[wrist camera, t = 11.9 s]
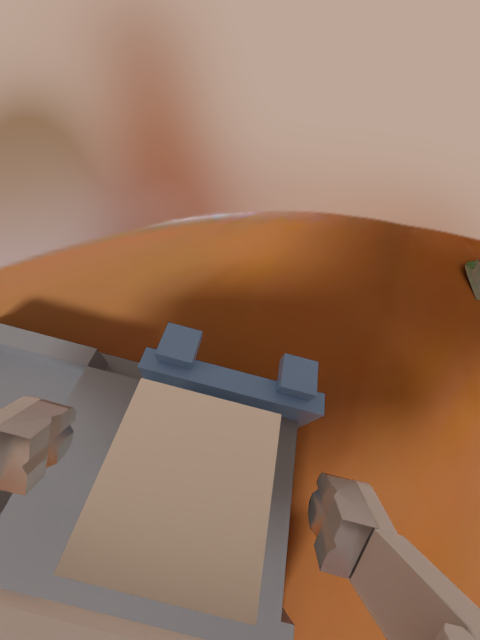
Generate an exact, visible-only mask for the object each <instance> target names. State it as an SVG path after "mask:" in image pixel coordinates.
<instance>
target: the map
mask: <svg viewBox="0 0 480 640" xmlns="http://www.w3.org/2000/svg"><path fill="white" fill-rule="evenodd" d="M465 265H466V266H465V270H466V273H467V276H468V279H469V282H470V284H471V287H472V290H473V292H474V295H475V297H476V300H478V299H479V300H480V258H479V259H477V261H471V262H469V261H468V262H467V264H465Z"/></svg>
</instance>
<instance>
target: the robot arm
mask: <svg viewBox="0 0 480 640" xmlns="http://www.w3.org/2000/svg"><path fill="white" fill-rule="evenodd" d="M75 419H76V410H75V409H74V408H73V407H69V406H66V405H62V404H59V403H55V402H52V401H48V400H45V399H44V400H43V399H40V398H37V397H33V396H23V397H21V398H19V399H17V400H16V401H14V402H12V403H10V404H8V405H7V406H5V407H3V408H1V409H0V490H3V491H7V492H12V493H16V494H21V495H26V494H27V493H28V492H29V491H30V490H31V489H32V488H33V487H34V486H35V485H36V484H37V483H38V482H39V481H40V480H41V479H42V478H43V477H44V476H45V472H46V468H48V467H50V466H52V465H55V464H57V463H58V462H59V461H60V460H61V459H62V458H63V457H64V455H65V454H66V452H67V450H68V449H69V447H70V445H71V442H72V440H73V434H74V431H73V429H72V427H71V426H70V424H71V423H72V422H73V421H75ZM317 485H318V490H317V491H315V492H314V493H312V496H311V498H310V501H309V509H308V517H309V524H310V529H311V530H312V531H313V533H314V534H315V535H316V537H317V538H316V541H315V543H314V546H315V551H316V555H317V560H318V564H319V568H320V571H323V572H326V573H330V574H333V575H337V576H340V577H343V578H347V579H350V583H351V584H352V586H353V587H354V589H355V590H356V592H357V594H358V595H359V597H360V598H361V600H362V601H363V603H364V604H365V606H366V608H367V609H368V611H369V612H370V614H371V615H372V617H373V619H374V620H375V622H376V623H377V625H378V626H379V628H380V630H381V631H382V633H383V634H384V636H385V637H386V639H387V640H480V609H479V608H478V607H477V606H476V605H475V604H474V603H473V602H472V601H471V600H470V599H469V598H468V597H467V596H466V595H465V594H464V593H463V592H462V591H461V590H459V589H458V588H457V587H456V586H455V585H454V584H453V583H452V582H451V581H450V580H449V579H448V578H447V577H446V576H445V575H444V574H443V573H442V572H441V571H440V570H439V569H437V568H436V567H435V566H434V565H433V564H432V563H431V562H430V561H429V560H428V559H427V558H426V557H425V556H424V555H423V554H422V553H421V552H420V551H419V550H418V549H417V548H415V547H414V546H413V545H412V544H411V543H410V542H409V541H408V540H407V539H406V538H405V537H404V536H401V535H398V533H397V532H396V530H395V528H394V526H393V524H392V522H391V521H390V519H389V517H388V515H387V513H386V511H385V510H384V508H383V506H382V504H381V502H380V501H379V499H378V497H377V495H376V493H375V491H374V490H373V488H372V486H371V485H370V484H368V483H365V482H361V481H356V480H350V479H346V478H342V477H338V476H334V475H330V474H327V473H323V472H322V473H321V474H320V476H319V478H318V480H317ZM0 640H207V639H203V638H199V637H195V636H191V635H187V634H183V633H179V632H175V631H171V630H167V629H163V628H159V627H155V626H151V625H147V624H143V623H139V622H135V621H131V620H127V619H123V618H119V617H115V616H111V615H107V614H103V613H99V612H95V611H91V610H87V609H83V608H79V607H75V606H71V605H67V604H63V603H59V602H55V601H51V600H47V599H43V598H39V597H35V596H31V595H27V594H23V593H19V592H15V591H11V590H7V589H3V588H0Z"/></svg>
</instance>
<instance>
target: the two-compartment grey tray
mask: <svg viewBox="0 0 480 640" xmlns="http://www.w3.org/2000/svg"><path fill="white" fill-rule="evenodd" d="M201 341H202V331H200V330H196V329H192V328H189V327H185V326H181V325H177V324H173V323H170V322H168V325H167V327H166V329H165V331H164V334H163V336H162V338H161V340H160V343H159V345H158V347H157V349H153V348H149V347H146V349H145V351H144V354H143V356H142V358H141V360H140V362H135V361H131V360H128V359H124V358H120V357H116V356H112V355H108V354H105V353H101V352H99V350H98V349H97V348H93V347H89V346H85V345H81V344H77V343H74V342H70V341H66V340H62V339H58V338H55V337H51V336H47V335H43V334H39V333H35V332H32V331H28V330H24V329H20V328H16V327H13V326H9V325H5V324H1V323H0V409H1V408H3V407H5V406H7V405H8V404H10V403H12V402H14V401H16V400H17V399H19V398H21V397H23V396H33V397H37V398H40V399H43V400H44V399H45V400H48V401H52V402H55V403H59V404H62V405H66V406H69V407H73V408H74V409H75V410H76V419H75V421H73V422H72V423H71V424H70V426H71V427H72V429H73V431H74V434H73V440H72V442H71V445H70V447H69V449H68V450H67V452H66V454H65V455H64V457H63V458H62V459H61V460H60V461H59V462H58V463H57V464H55V465H52V466H50V467H48V468H46V472H45V476H44V477H43V478H42V479H41V480H40V481H39V482H38V483H37V484H36V485H35V486H34V487H33V488H32V489H31V490H30V491H29V492H28V493H27V494H26V495H21V494H16V493H12V492H7V491H3V490H0V588H3V589H7V590H11V591H15V592H19V593H23V594H27V595H31V596H35V597H39V598H43V599H47V600H51V601H55V602H59V603H63V604H67V605H71V606H75V607H79V608H83V609H87V610H91V611H95V612H99V613H103V614H107V615H111V616H115V617H119V618H123V619H127V620H131V621H135V622H139V623H143V624H147V625H151V626H155V627H159V628H163V629H167V630H171V631H175V632H179V633H183V634H187V635H191V636H195V637H199V638H203V639H207V640H293V639H294V624H293V622H292V621H291V619H290V618H289V616H288V615H287V613H286V612H285V610H284V609H283V607H282V604H283V592H284V580H285V569H286V557H287V545H288V533H289V522H290V510H291V498H292V486H293V474H294V463H295V451H296V439H297V428H300V427H302V426H304V425H306V424H308V423H310V422H312V421H314V420H316V419H319V418H321V417H323V416H324V409H325V394H324V393H320V392H317V382H318V362H317V361H313V360H310V359H306V358H302V357H298V356H295V355H291V354H287V353H284V355H283V356H282V358H281V359H280V363H279V371H278V378H277V381H275V380H271V379H267V378H263V377H259V376H256V375H252V374H248V373H244V372H240V371H236V370H233V369H229V368H225V367H221V366H217V365H214V364H210V363H206V362H202V361H198V360H195V359H196V356H197V353H198V350H199V347H200V344H201ZM141 378H144V379H148V380H152V381H155V382H159V383H163V384H167V385H171V386H175V387H178V388H182V389H186V390H190V391H194V392H198V393H201V394H205V395H209V396H213V397H217V398H221V399H224V400H228V401H232V402H236V403H240V404H243V405H247V406H251V407H255V408H259V409H263V410H266V411H270V412H274V413H278V414H281V423H280V431H279V439H278V448H277V456H276V464H275V472H274V481H273V489H272V497H271V506H270V514H269V522H268V530H267V539H266V547H265V555H264V564H263V572H262V580H261V588H260V597H259V605H258V613H257V622H256V626H255V625H251V624H247V623H243V622H239V621H235V620H231V619H227V618H223V617H219V616H215V615H211V614H207V613H203V612H200V611H196V610H192V609H188V608H184V607H180V606H176V605H172V604H168V603H164V602H160V601H156V600H152V599H148V598H144V597H140V596H136V595H132V594H128V593H124V592H120V591H116V590H112V589H108V588H104V587H100V586H96V585H92V584H88V583H84V582H80V581H76V580H72V579H68V578H64V577H60V576H56V575H53V574H54V572H55V569H56V567H57V565H58V563H59V561H60V558H61V556H62V554H63V552H64V549H65V547H66V545H67V543H68V540H69V538H70V536H71V534H72V531H73V529H74V527H75V525H76V522H77V520H78V518H79V516H80V514H81V511H82V509H83V507H84V505H85V502H86V500H87V498H88V496H89V493H90V491H91V489H92V487H93V484H94V482H95V480H96V478H97V475H98V473H99V471H100V469H101V466H102V464H103V462H104V460H105V458H106V455H107V453H108V451H109V449H110V446H111V444H112V442H113V440H114V437H115V435H116V433H117V431H118V428H119V426H120V424H121V422H122V419H123V417H124V415H125V413H126V411H127V408H128V406H129V404H130V402H131V399H132V397H133V395H134V393H135V390H136V388H137V386H138V384H139V381H140V379H141Z"/></svg>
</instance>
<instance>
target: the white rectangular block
mask: <svg viewBox="0 0 480 640" xmlns="http://www.w3.org/2000/svg"><path fill="white" fill-rule="evenodd" d="M280 423H281V414H278V413H274V412H270V411H266V410H263V409H259V408H255V407H251V406H247V405H243V404H240V403H236V402H232V401H228V400H224V399H221V398H217V397H213V396H209V395H205V394H201V393H198V392H194V391H190V390H186V389H182V388H178V387H175V386H171V385H167V384H163V383H159V382H155V381H152V380H148V379H144V378H141V379H140V381H139V384H138V386H137V388H136V390H135V393H134V395H133V397H132V399H131V402H130V404H129V406H128V408H127V411H126V413H125V415H124V417H123V419H122V422H121V424H120V426H119V428H118V431H117V433H116V435H115V437H114V440H113V442H112V444H111V446H110V449H109V451H108V453H107V455H106V458H105V460H104V462H103V464H102V466H101V469H100V471H99V473H98V475H97V478H96V480H95V482H94V484H93V487H92V489H91V491H90V493H89V496H88V498H87V500H86V502H85V505H84V507H83V509H82V511H81V514H80V516H79V518H78V520H77V522H76V525H75V527H74V529H73V531H72V534H71V536H70V538H69V540H68V543H67V545H66V547H65V549H64V552H63V554H62V556H61V558H60V561H59V563H58V565H57V567H56V569H55V572H54V574H53V575H56V576H60V577H64V578H68V579H72V580H76V581H80V582H84V583H88V584H92V585H96V586H100V587H104V588H108V589H112V590H116V591H120V592H124V593H128V594H132V595H136V596H140V597H144V598H148V599H152V600H156V601H160V602H164V603H168V604H172V605H176V606H180V607H184V608H188V609H192V610H196V611H200V612H203V613H207V614H211V615H215V616H219V617H223V618H227V619H231V620H235V621H239V622H243V623H247V624H251V625H255V626H256V622H257V613H258V605H259V597H260V588H261V580H262V572H263V564H264V555H265V547H266V539H267V530H268V522H269V514H270V506H271V497H272V489H273V481H274V472H275V464H276V456H277V448H278V439H279V431H280Z"/></svg>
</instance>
